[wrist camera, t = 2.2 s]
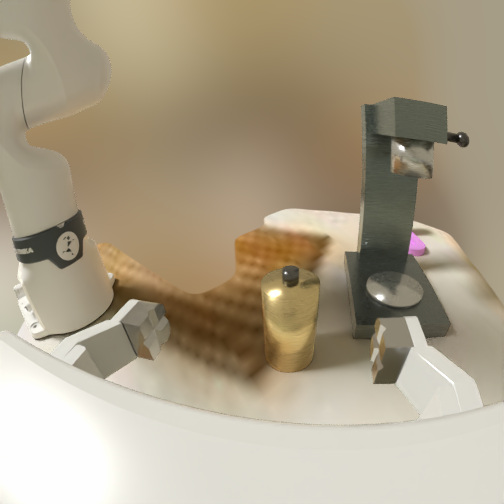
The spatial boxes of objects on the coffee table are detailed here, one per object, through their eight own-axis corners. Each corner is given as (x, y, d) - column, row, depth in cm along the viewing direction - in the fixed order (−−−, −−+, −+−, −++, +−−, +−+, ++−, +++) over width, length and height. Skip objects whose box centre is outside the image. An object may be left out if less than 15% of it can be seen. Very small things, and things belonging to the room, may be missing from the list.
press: (489, 332, 23) (536, 131, 13) (353, 338, 28) (372, 88, 17) (446, 265, 39) (463, 121, 28) (344, 262, 44) (347, 104, 33)
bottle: (258, 366, 26) (250, 280, 21) (274, 334, 30) (271, 253, 25) (306, 377, 24) (314, 290, 20) (317, 342, 28) (325, 259, 24)
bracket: (382, 230, 55) (385, 199, 52) (404, 230, 55) (407, 200, 52) (403, 256, 44) (409, 220, 41) (428, 256, 43) (434, 221, 40)
